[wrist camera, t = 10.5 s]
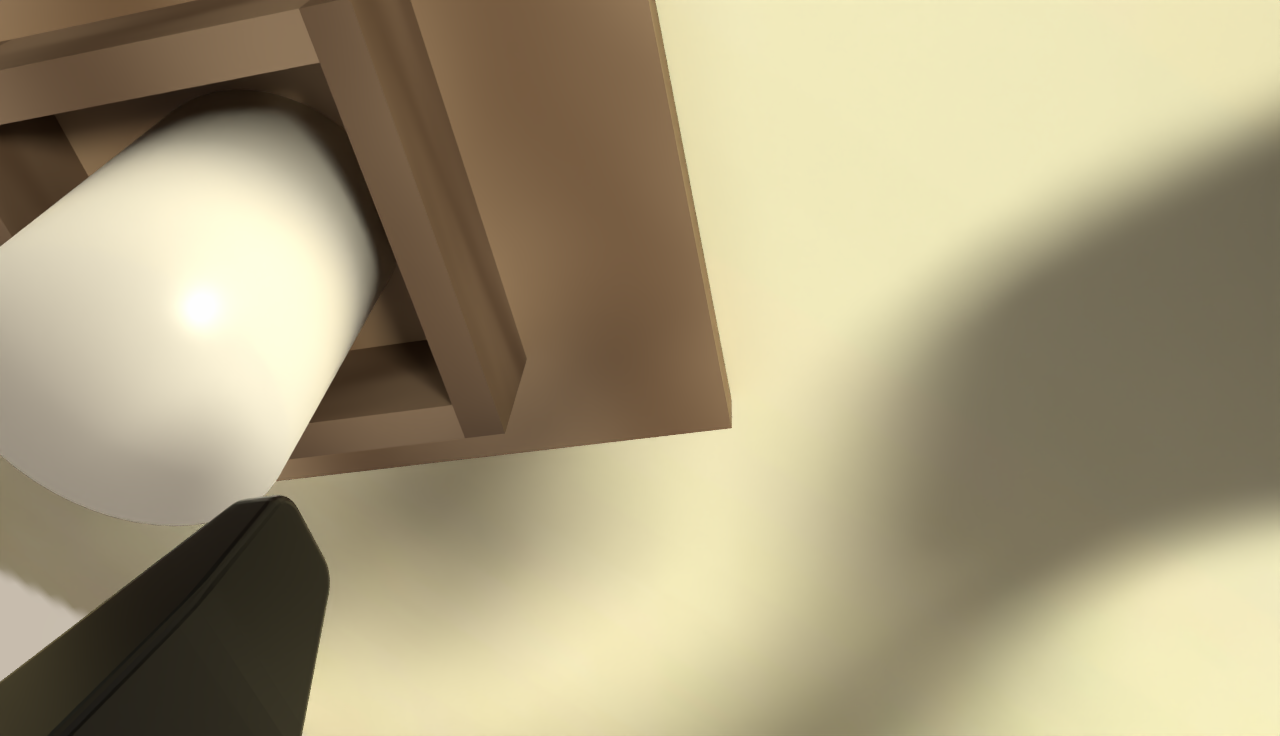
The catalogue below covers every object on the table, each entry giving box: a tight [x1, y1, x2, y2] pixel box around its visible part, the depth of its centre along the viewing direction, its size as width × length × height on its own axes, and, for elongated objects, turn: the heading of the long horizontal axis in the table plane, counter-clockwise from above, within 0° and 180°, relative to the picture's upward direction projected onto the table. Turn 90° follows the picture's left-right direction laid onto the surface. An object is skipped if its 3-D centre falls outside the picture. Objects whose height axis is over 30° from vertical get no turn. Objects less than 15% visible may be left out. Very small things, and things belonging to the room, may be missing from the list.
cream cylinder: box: [0, 89, 396, 526], centre depth 17 cm, size 5×5×6 cm
